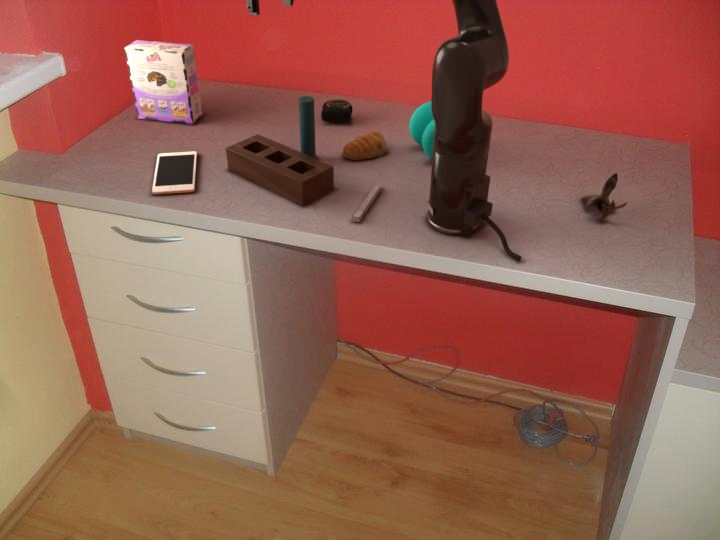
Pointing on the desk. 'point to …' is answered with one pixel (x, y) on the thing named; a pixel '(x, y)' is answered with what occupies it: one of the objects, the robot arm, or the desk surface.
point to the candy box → (164, 81)
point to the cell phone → (175, 173)
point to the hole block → (280, 169)
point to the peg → (307, 126)
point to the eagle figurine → (604, 198)
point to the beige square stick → (366, 203)
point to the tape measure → (336, 111)
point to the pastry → (365, 146)
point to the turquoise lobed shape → (423, 128)
